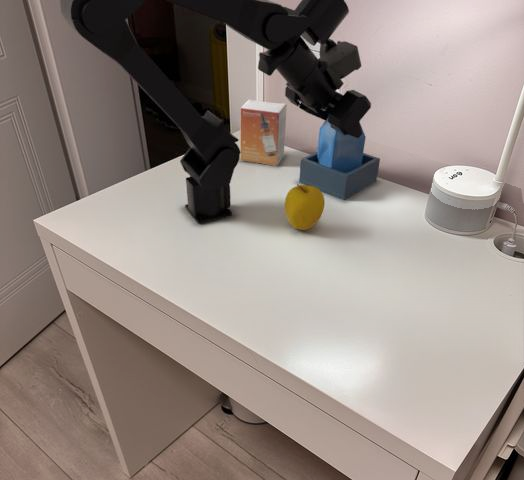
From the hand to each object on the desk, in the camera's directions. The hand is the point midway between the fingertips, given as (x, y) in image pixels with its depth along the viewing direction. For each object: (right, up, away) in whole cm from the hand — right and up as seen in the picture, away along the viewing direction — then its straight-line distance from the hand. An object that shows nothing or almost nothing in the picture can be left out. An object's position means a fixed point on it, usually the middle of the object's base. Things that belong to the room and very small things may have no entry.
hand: (349, 129), depth 97 cm
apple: (-9, -20, -7) cm, 23 cm away
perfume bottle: (-1, -5, +4) cm, 7 cm away
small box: (-16, 0, +14) cm, 21 cm away
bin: (-1, -8, +6) cm, 10 cm away
